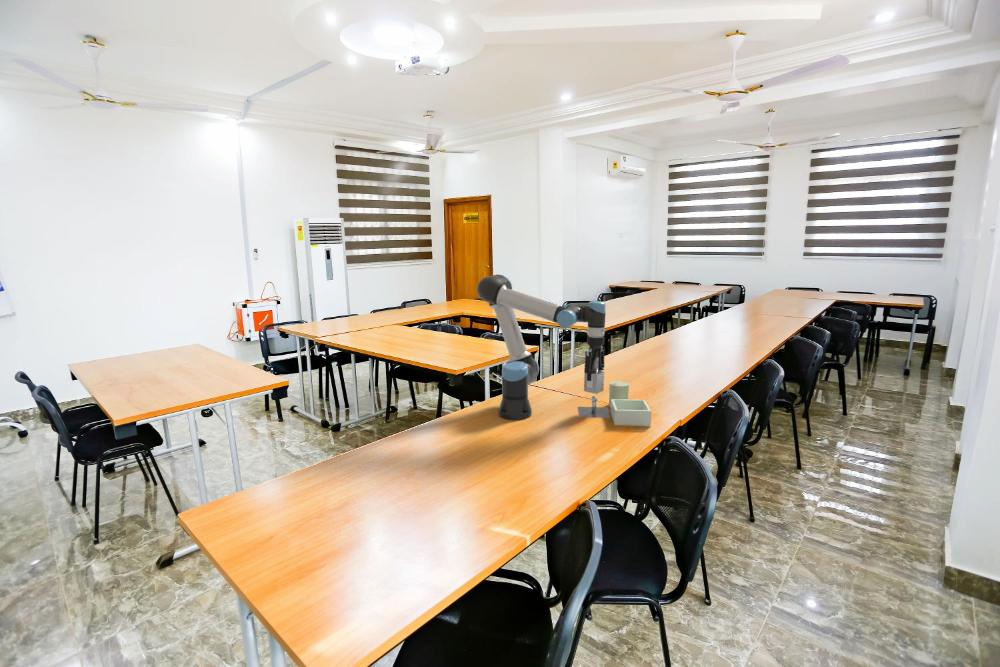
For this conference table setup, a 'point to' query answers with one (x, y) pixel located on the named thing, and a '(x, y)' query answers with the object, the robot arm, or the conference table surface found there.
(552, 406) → the conference table surface
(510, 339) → the robot arm
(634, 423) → the bin
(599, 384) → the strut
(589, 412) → the stud plate
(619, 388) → the can
